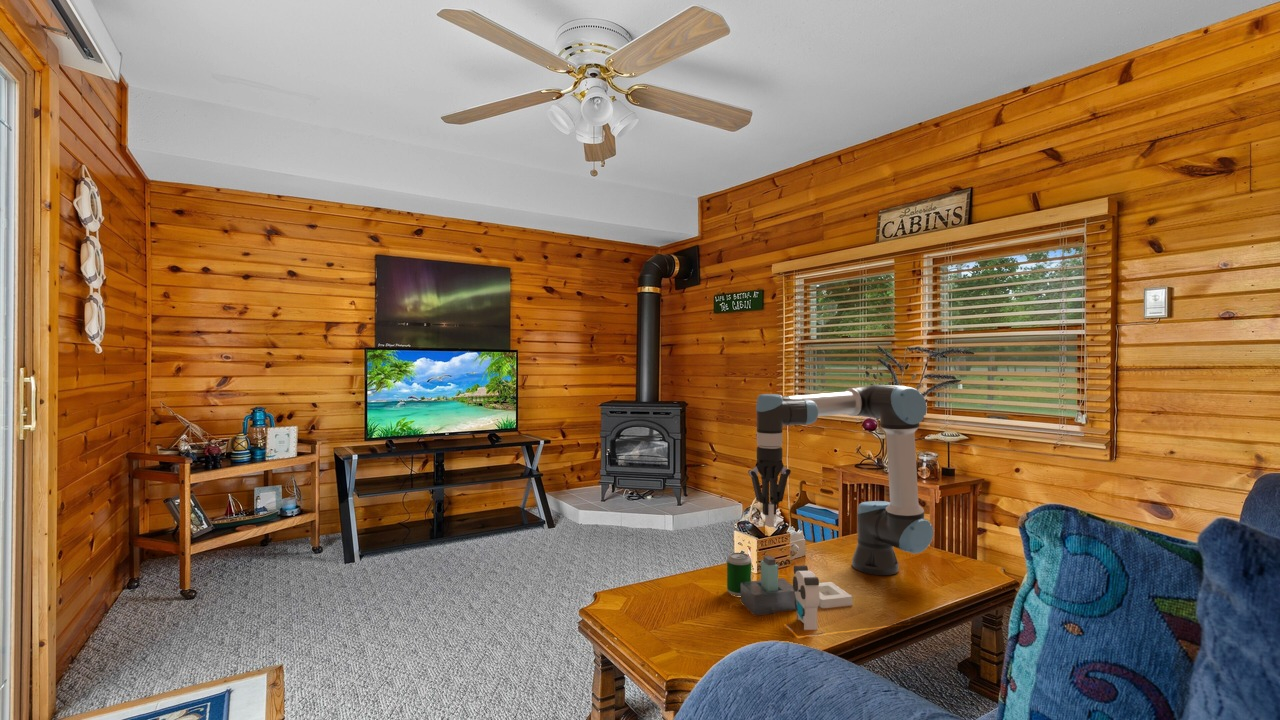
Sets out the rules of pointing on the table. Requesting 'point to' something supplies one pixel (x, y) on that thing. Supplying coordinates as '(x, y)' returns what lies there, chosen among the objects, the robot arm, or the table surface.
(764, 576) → the plug
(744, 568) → the soda can
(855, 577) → the table surface
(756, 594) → the block
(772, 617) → the table surface
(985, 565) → the table surface
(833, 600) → the white flat block
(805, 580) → the panda figurine
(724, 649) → the table surface
